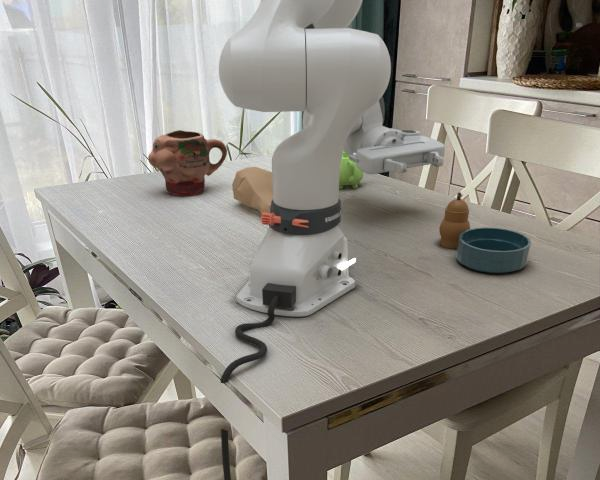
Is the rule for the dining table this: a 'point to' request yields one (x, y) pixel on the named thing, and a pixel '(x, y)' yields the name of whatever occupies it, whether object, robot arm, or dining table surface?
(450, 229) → the pear
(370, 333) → the dining table surface
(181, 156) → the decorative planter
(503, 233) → the bowl
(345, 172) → the teapot
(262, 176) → the squash
